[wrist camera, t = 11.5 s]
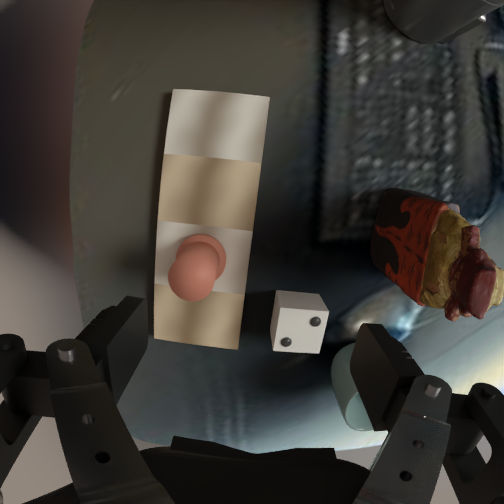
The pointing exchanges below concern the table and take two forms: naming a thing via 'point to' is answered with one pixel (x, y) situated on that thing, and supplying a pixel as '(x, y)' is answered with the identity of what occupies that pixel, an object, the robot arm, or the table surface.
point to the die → (298, 322)
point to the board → (208, 208)
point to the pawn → (197, 267)
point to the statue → (434, 254)
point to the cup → (348, 391)
